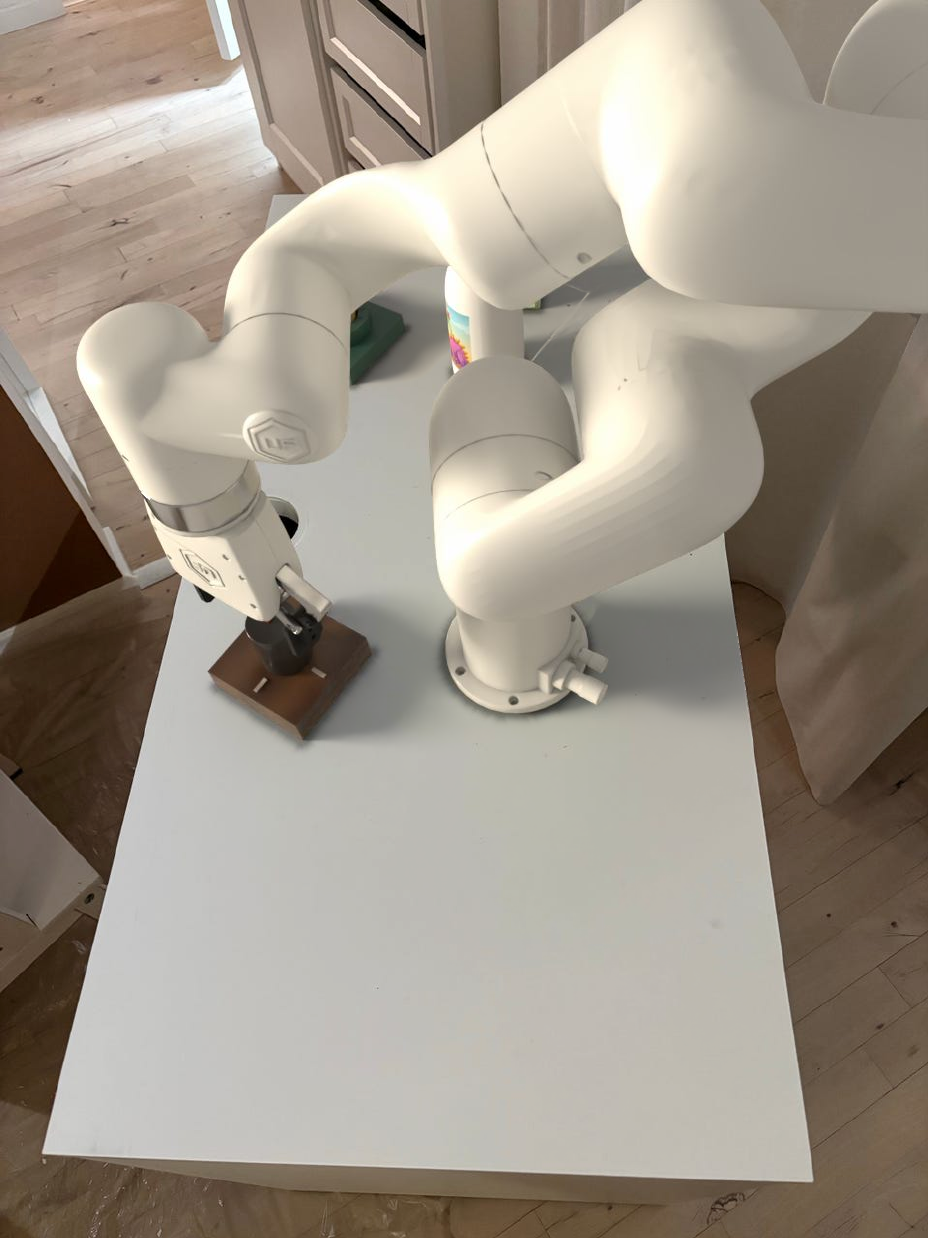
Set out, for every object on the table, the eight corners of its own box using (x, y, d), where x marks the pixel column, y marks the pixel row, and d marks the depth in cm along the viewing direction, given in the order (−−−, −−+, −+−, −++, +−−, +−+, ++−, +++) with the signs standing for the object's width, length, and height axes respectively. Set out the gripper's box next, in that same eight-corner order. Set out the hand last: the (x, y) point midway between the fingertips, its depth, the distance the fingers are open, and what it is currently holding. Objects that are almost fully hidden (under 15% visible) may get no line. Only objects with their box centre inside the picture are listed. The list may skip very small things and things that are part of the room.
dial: (322, 646, 83) (307, 611, 78) (290, 684, 81) (273, 651, 76) (283, 624, 84) (266, 588, 80) (251, 661, 83) (232, 627, 78)
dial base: (372, 654, 86) (366, 636, 83) (303, 741, 82) (295, 725, 79) (287, 606, 89) (279, 587, 86) (217, 687, 85) (206, 670, 83)
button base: (405, 329, 108) (400, 301, 104) (352, 385, 104) (345, 357, 100) (336, 301, 111) (329, 272, 108) (282, 354, 107) (273, 326, 104)
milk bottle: (527, 347, 105) (522, 181, 88) (522, 398, 101) (516, 235, 84) (457, 346, 106) (439, 182, 89) (450, 397, 102) (429, 235, 85)
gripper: (68, 465, 64) (154, 602, 79) (263, 575, 58) (316, 701, 73) (145, 395, 67) (213, 539, 82) (337, 493, 62) (374, 629, 76)
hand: (262, 615), depth 77 cm, fingers open, 9 cm apart
